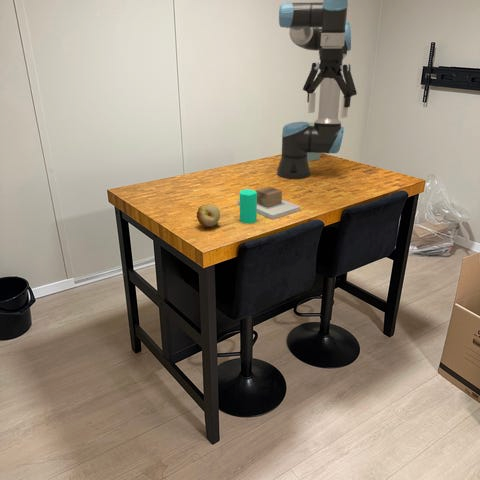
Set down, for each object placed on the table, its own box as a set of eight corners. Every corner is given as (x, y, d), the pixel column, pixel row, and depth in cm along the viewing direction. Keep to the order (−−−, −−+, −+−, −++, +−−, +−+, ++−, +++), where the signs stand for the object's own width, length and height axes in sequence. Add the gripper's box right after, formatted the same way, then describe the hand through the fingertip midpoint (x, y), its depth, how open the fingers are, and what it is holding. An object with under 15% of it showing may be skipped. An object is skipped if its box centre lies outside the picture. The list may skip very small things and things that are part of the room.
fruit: (193, 229, 155) (192, 207, 152) (204, 220, 162) (203, 199, 159) (214, 232, 153) (213, 210, 149) (224, 223, 160) (223, 201, 156)
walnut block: (255, 202, 174) (255, 190, 172) (269, 198, 178) (269, 186, 176) (267, 207, 169) (267, 194, 167) (281, 203, 173) (282, 190, 171)
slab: (237, 204, 177) (237, 200, 177) (264, 196, 185) (264, 192, 184) (272, 219, 163) (272, 215, 162) (300, 210, 171) (300, 206, 170)
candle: (238, 217, 165) (238, 185, 160) (255, 216, 166) (256, 184, 161) (240, 223, 160) (240, 190, 155) (257, 223, 160) (258, 190, 155)
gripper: (294, 46, 154) (292, 111, 163) (358, 48, 138) (351, 121, 147) (309, 46, 159) (305, 109, 168) (372, 48, 142) (364, 118, 151)
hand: (327, 115), depth 157 cm, fingers open, 13 cm apart
